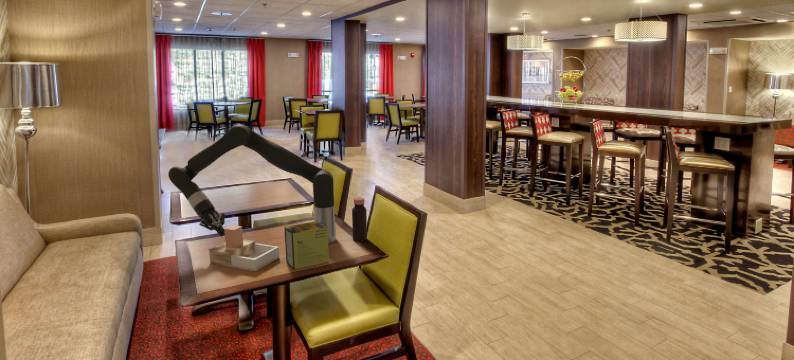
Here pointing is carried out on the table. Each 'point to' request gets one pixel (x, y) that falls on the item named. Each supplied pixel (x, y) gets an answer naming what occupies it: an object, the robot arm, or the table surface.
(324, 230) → the protein box
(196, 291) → the table surface
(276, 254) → the white inner box tray
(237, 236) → the block
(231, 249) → the beige box sleeve
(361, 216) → the bottle
